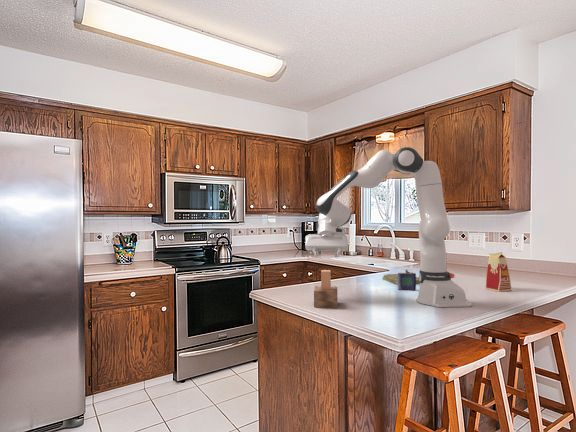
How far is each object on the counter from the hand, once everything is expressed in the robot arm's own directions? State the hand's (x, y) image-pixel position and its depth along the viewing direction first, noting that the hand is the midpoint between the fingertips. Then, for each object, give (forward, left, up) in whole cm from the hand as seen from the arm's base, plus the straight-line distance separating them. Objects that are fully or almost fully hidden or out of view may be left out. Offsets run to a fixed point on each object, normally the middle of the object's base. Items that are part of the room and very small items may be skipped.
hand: (326, 256), depth 168 cm
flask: (-41, -29, -21) cm, 54 cm away
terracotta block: (0, +7, -13) cm, 15 cm away
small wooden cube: (0, +7, -20) cm, 22 cm away
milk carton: (-88, -35, -21) cm, 97 cm away
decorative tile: (-43, -53, -21) cm, 71 cm away
